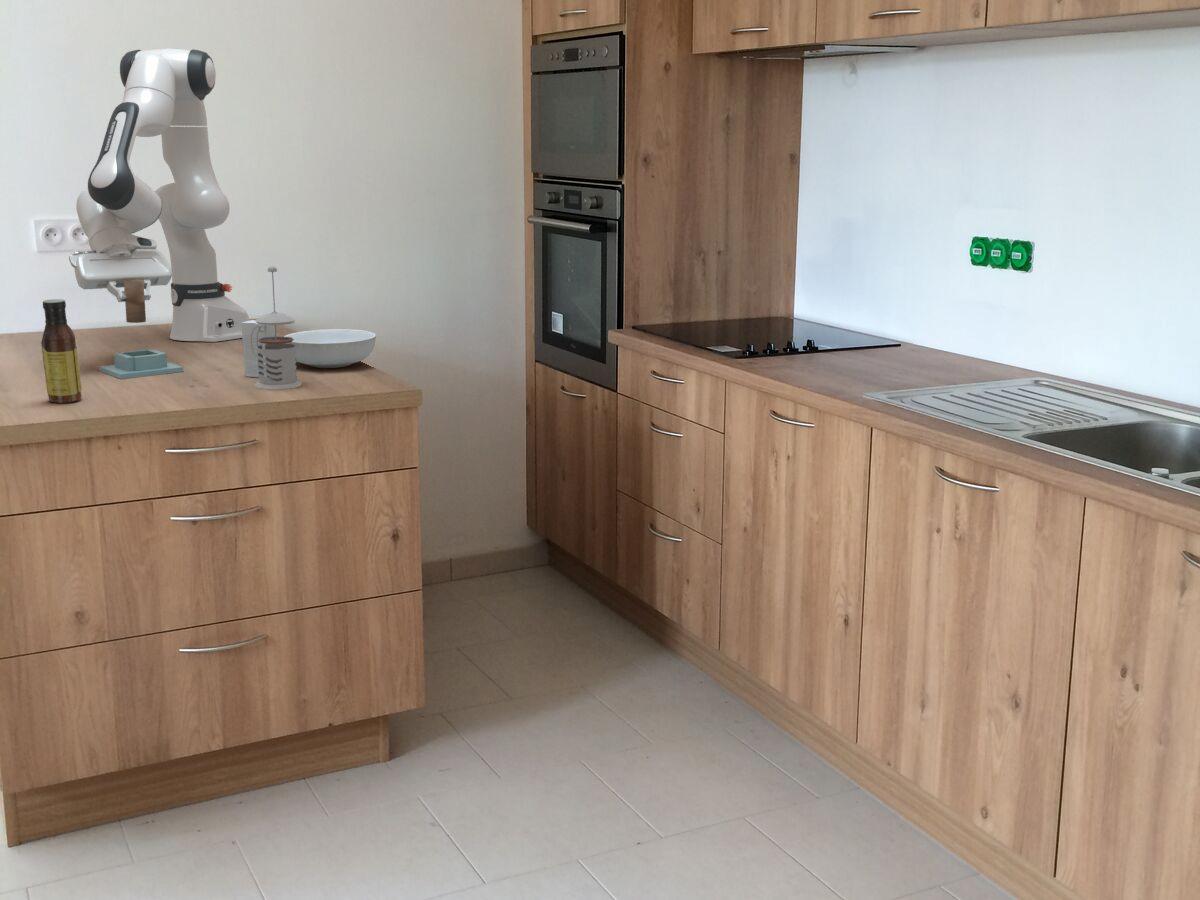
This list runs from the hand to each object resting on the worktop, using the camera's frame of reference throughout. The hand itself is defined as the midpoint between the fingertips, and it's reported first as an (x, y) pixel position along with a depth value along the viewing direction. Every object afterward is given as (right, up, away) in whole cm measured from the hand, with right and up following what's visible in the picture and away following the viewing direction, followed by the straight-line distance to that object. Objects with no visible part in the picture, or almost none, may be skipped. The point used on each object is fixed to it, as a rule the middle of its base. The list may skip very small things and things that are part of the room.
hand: (135, 299), depth 267 cm
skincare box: (+27, -17, +1) cm, 32 cm away
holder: (0, -15, +4) cm, 16 cm away
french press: (+33, -19, -7) cm, 38 cm away
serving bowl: (+39, -13, +16) cm, 44 cm away
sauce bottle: (-4, -23, -26) cm, 36 cm away
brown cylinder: (0, -5, +1) cm, 5 cm away
